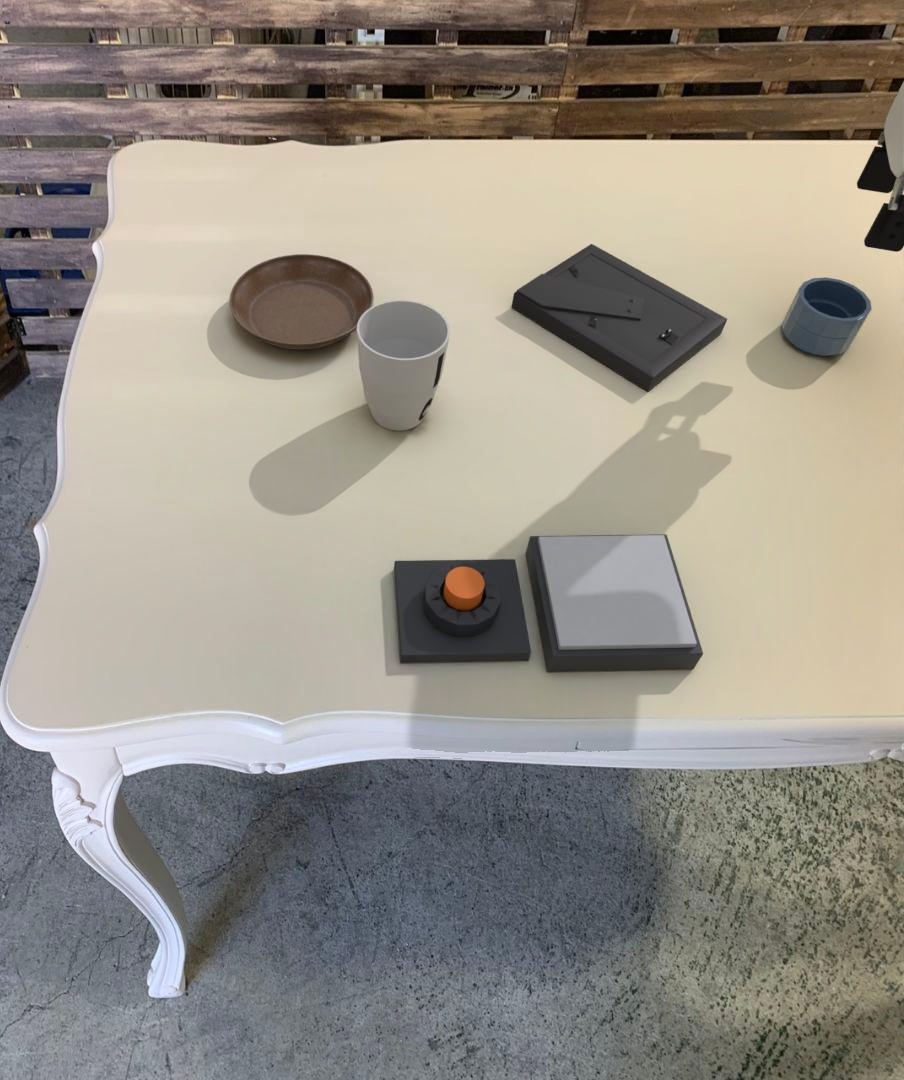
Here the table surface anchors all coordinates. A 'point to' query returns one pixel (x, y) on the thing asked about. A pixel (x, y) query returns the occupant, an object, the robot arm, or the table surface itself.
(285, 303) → the saucer
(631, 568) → the scale
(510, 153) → the table surface
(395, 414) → the cup
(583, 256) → the picture frame
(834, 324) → the blue round container
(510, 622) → the panel
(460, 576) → the button
